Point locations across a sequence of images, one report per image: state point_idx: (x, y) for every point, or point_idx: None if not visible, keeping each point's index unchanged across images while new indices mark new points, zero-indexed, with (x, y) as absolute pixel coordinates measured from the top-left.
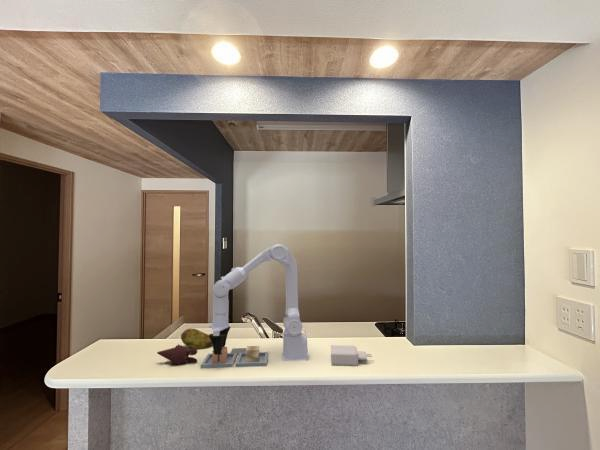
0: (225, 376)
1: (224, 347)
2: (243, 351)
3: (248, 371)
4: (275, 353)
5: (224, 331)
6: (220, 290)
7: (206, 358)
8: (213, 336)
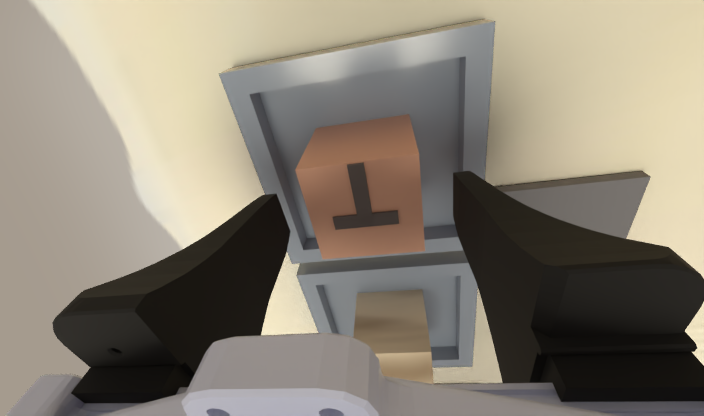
0: None
1: (407, 235)
2: None
3: (280, 307)
4: (495, 366)
5: (508, 345)
6: None
7: (359, 63)
8: (91, 351)
